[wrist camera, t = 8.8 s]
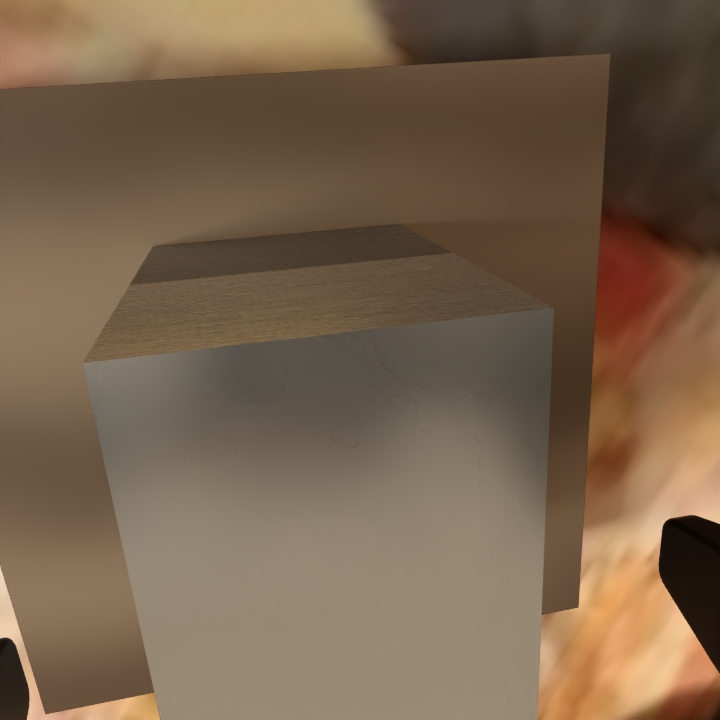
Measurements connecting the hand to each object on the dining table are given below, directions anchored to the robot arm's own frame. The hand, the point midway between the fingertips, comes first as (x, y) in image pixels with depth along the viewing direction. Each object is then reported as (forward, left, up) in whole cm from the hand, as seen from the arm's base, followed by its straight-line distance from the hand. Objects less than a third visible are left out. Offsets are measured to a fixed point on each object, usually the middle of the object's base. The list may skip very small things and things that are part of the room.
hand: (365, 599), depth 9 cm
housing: (0, 0, -6) cm, 6 cm away
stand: (0, 0, -9) cm, 9 cm away
